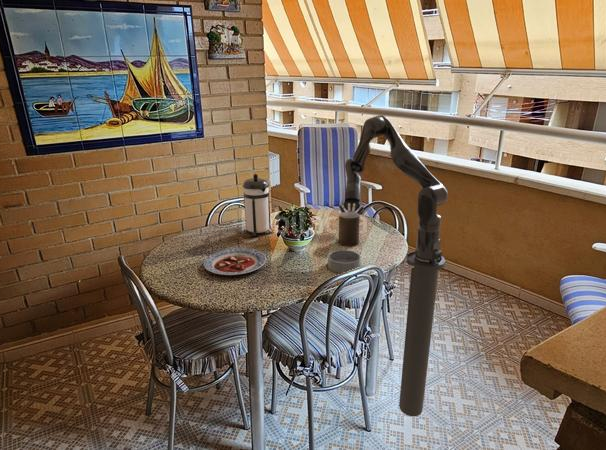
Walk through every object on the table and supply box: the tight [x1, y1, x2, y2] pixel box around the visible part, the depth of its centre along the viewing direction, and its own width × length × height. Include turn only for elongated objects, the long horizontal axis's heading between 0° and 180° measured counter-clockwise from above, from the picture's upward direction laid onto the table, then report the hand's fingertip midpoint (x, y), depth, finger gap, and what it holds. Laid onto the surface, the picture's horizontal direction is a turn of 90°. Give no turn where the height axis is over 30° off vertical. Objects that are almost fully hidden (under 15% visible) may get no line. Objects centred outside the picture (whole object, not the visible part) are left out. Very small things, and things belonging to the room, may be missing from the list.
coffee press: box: [242, 173, 274, 238], centre depth 203 cm, size 17×16×30 cm
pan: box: [327, 249, 362, 274], centre depth 168 cm, size 13×13×4 cm
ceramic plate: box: [203, 247, 267, 276], centre depth 170 cm, size 26×26×3 cm
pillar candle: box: [338, 211, 361, 247], centre depth 191 cm, size 10×10×15 cm
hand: (350, 224), depth 200 cm, fingers closed
